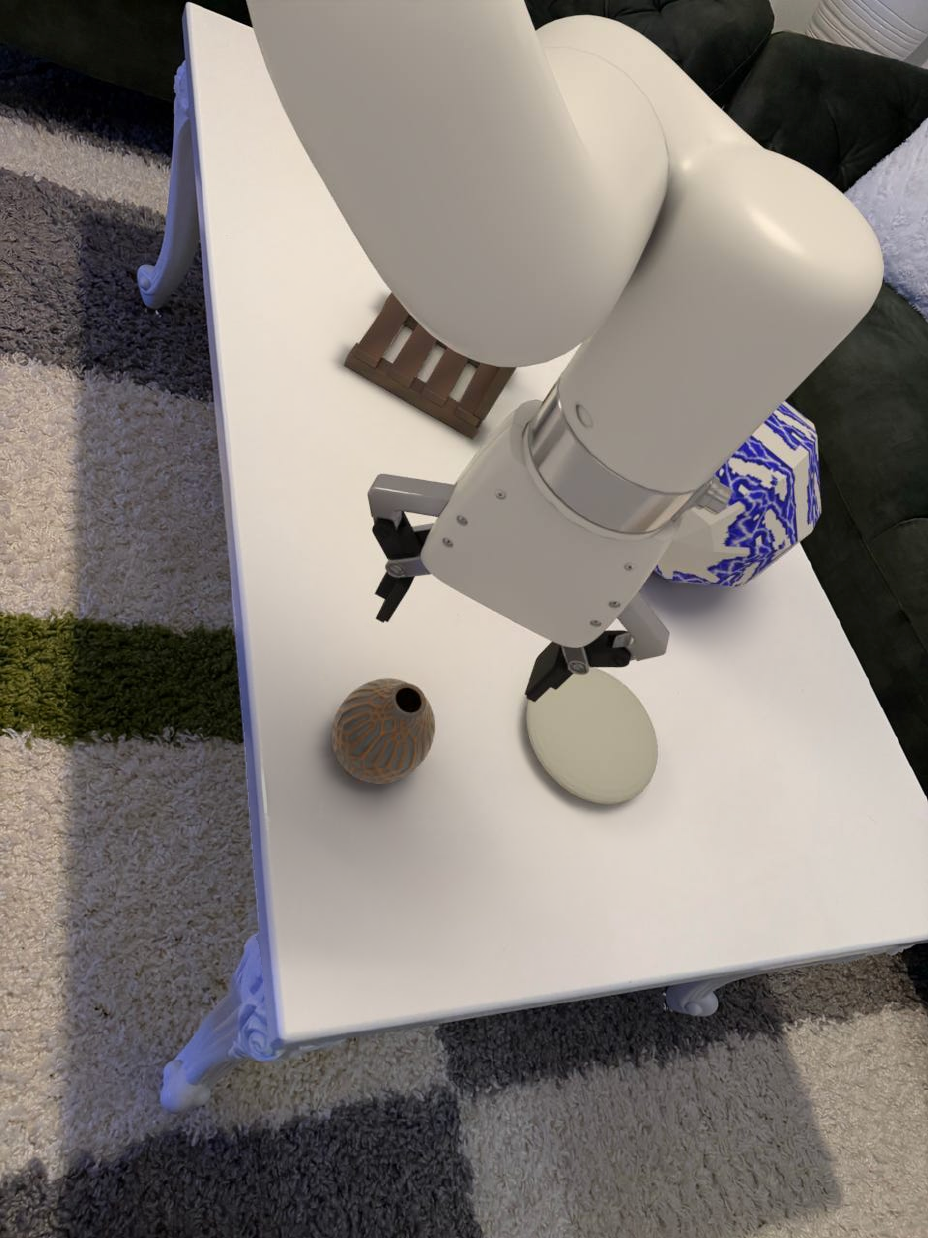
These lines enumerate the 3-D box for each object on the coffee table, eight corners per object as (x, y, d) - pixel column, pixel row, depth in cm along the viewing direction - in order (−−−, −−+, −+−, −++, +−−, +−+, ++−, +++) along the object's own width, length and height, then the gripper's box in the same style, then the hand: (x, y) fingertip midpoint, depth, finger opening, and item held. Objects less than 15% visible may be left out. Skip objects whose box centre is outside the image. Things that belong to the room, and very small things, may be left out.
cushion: (613, 840, 69) (634, 828, 66) (492, 743, 69) (509, 727, 66) (666, 735, 76) (686, 721, 74) (558, 647, 76) (575, 630, 74)
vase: (327, 697, 65) (364, 641, 58) (415, 718, 67) (460, 665, 60) (315, 785, 61) (352, 736, 54) (408, 804, 63) (455, 758, 57)
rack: (343, 364, 83) (395, 236, 72) (388, 300, 91) (441, 175, 80) (472, 439, 85) (542, 325, 74) (505, 370, 93) (574, 257, 81)
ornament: (588, 403, 72) (675, 310, 84) (554, 580, 86) (633, 478, 98) (828, 489, 65) (884, 376, 78) (749, 665, 80) (807, 545, 92)
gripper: (787, 492, 41) (603, 662, 55) (464, 302, 39) (354, 527, 52) (775, 608, 37) (576, 762, 50) (407, 400, 34) (302, 619, 48)
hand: (462, 642), depth 51 cm, fingers open, 9 cm apart
